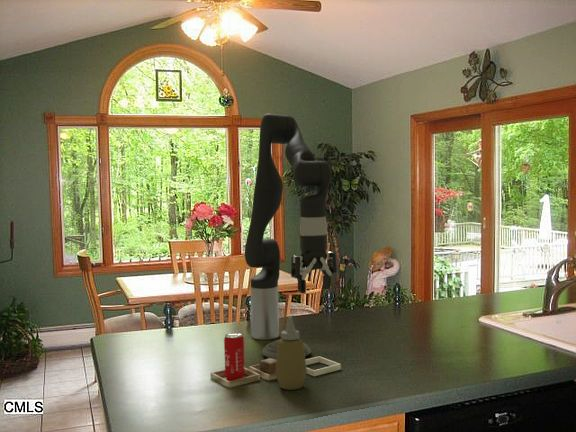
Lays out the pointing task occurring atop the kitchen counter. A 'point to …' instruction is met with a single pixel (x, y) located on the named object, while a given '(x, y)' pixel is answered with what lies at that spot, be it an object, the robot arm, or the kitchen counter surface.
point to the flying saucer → (271, 350)
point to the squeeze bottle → (290, 358)
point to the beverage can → (234, 356)
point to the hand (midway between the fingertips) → (314, 290)
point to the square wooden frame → (262, 373)
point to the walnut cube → (268, 365)
